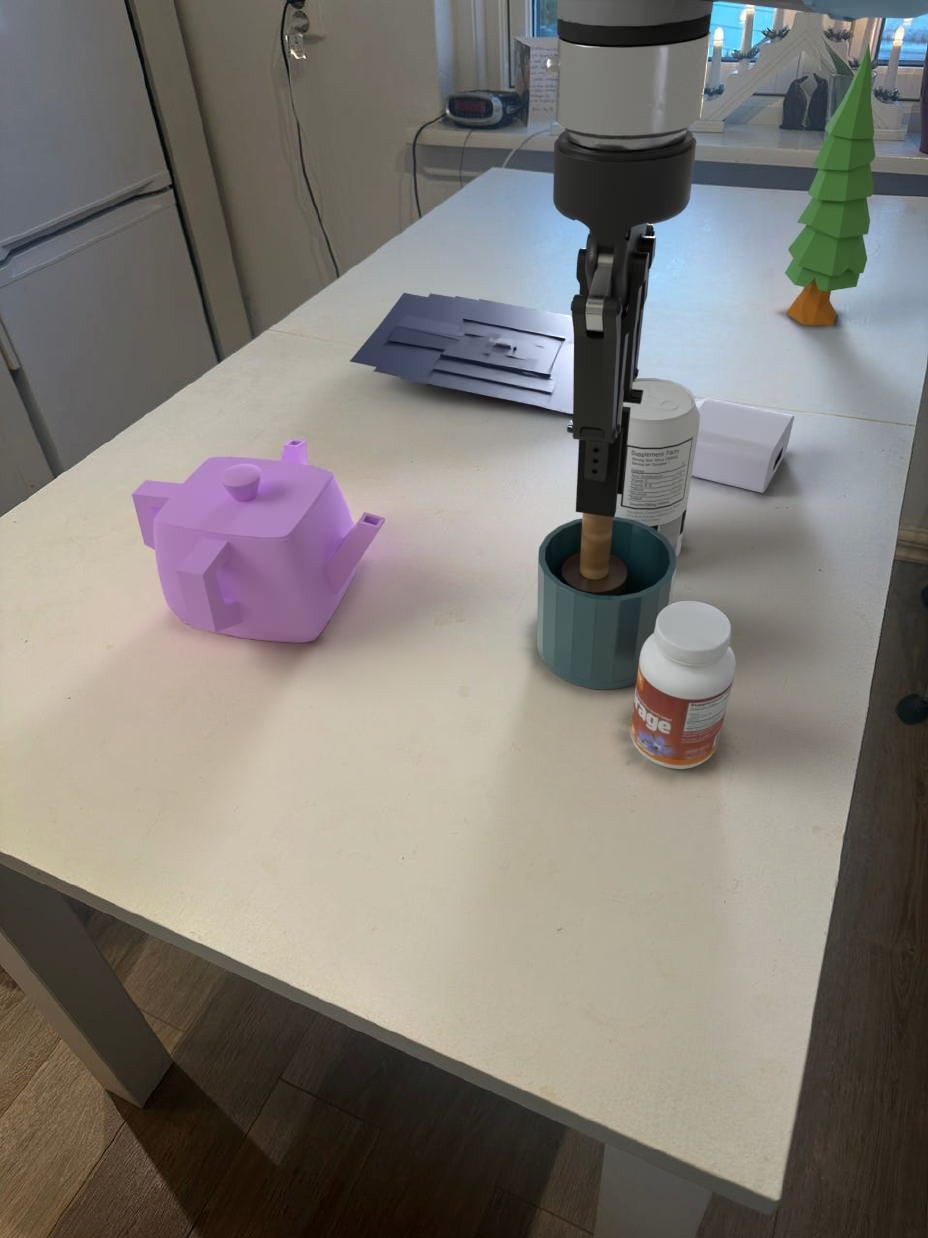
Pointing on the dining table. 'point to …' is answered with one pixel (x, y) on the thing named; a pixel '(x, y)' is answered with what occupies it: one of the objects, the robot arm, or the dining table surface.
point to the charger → (740, 444)
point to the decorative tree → (836, 207)
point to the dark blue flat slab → (477, 348)
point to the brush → (596, 559)
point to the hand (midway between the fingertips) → (599, 499)
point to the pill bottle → (683, 685)
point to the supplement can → (660, 457)
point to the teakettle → (254, 545)
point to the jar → (602, 606)
